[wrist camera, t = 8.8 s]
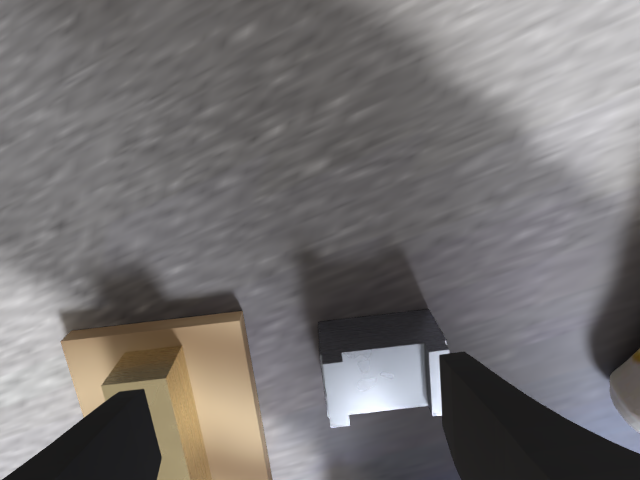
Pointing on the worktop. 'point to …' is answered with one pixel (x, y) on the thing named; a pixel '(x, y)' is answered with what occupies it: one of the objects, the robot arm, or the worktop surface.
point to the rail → (165, 408)
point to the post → (381, 364)
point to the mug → (627, 390)
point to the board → (205, 376)
